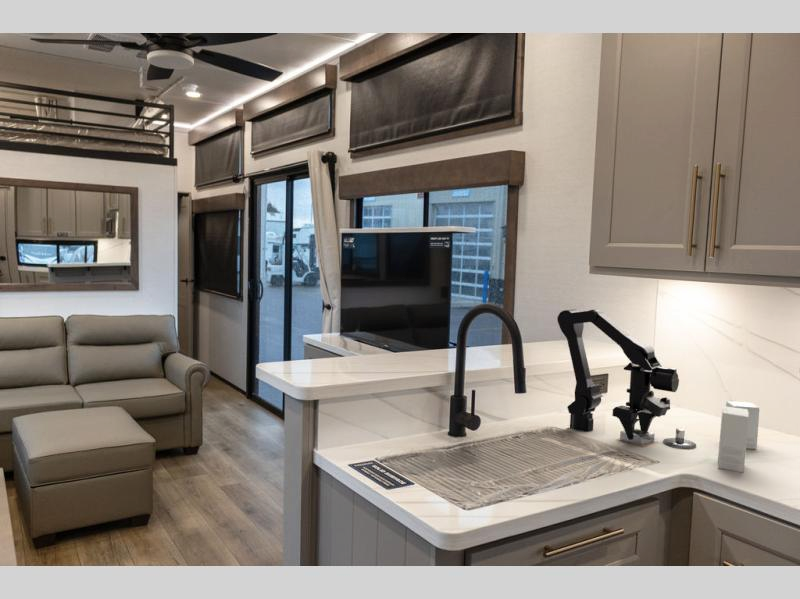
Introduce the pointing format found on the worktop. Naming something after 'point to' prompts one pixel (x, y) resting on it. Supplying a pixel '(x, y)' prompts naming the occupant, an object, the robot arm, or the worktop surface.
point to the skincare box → (733, 438)
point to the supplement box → (753, 421)
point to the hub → (679, 441)
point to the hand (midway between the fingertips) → (637, 437)
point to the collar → (638, 438)
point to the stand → (638, 434)
